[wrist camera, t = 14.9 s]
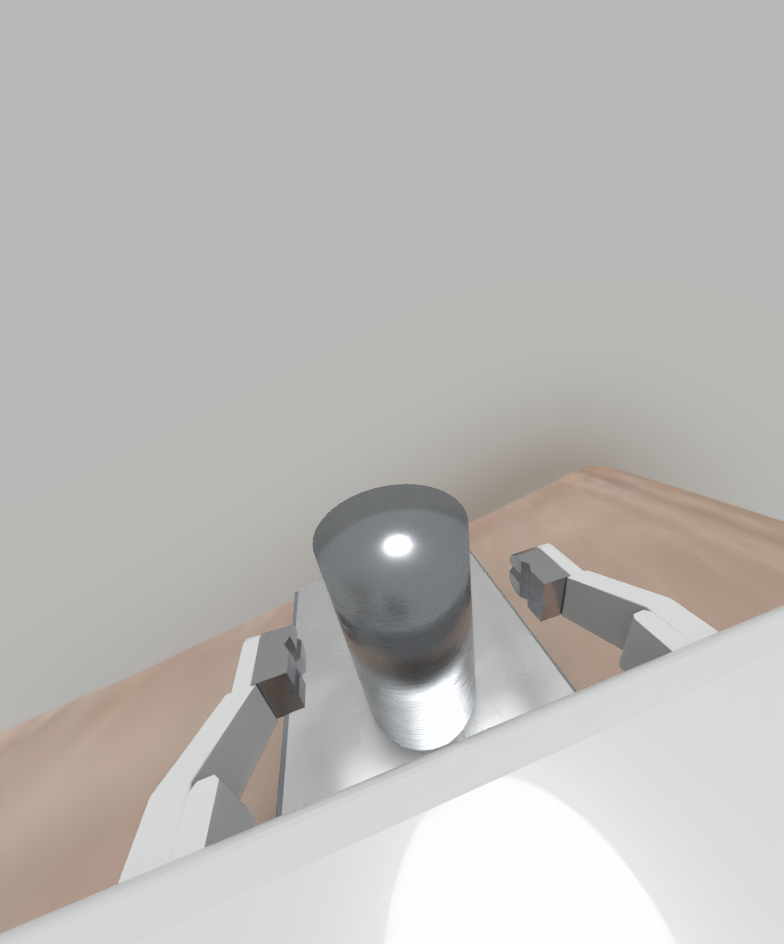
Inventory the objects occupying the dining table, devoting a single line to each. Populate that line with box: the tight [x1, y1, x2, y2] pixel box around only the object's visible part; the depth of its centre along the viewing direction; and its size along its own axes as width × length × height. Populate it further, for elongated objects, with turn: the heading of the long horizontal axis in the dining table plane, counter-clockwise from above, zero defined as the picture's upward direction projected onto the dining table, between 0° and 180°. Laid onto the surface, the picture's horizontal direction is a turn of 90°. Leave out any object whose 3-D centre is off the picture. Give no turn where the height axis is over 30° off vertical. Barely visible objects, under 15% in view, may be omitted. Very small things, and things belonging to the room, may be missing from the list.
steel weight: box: [313, 484, 476, 750], centre depth 11 cm, size 5×5×9 cm
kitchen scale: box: [276, 549, 577, 817], centre depth 15 cm, size 13×18×5 cm
